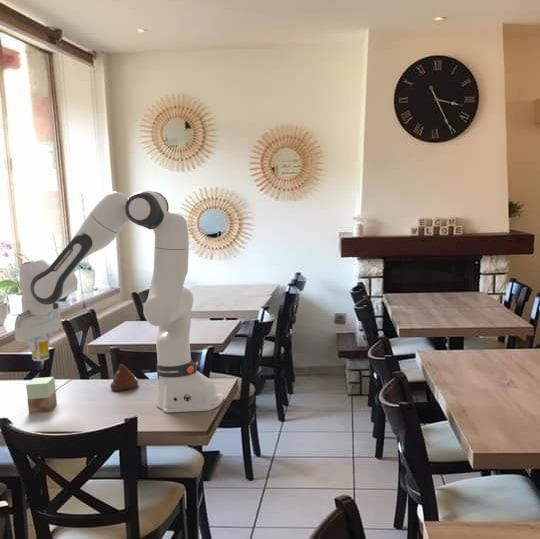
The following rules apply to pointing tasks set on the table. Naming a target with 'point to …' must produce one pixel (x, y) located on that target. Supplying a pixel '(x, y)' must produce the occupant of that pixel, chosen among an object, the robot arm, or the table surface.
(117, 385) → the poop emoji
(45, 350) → the supplement bottle
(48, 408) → the tower base
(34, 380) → the tower top
